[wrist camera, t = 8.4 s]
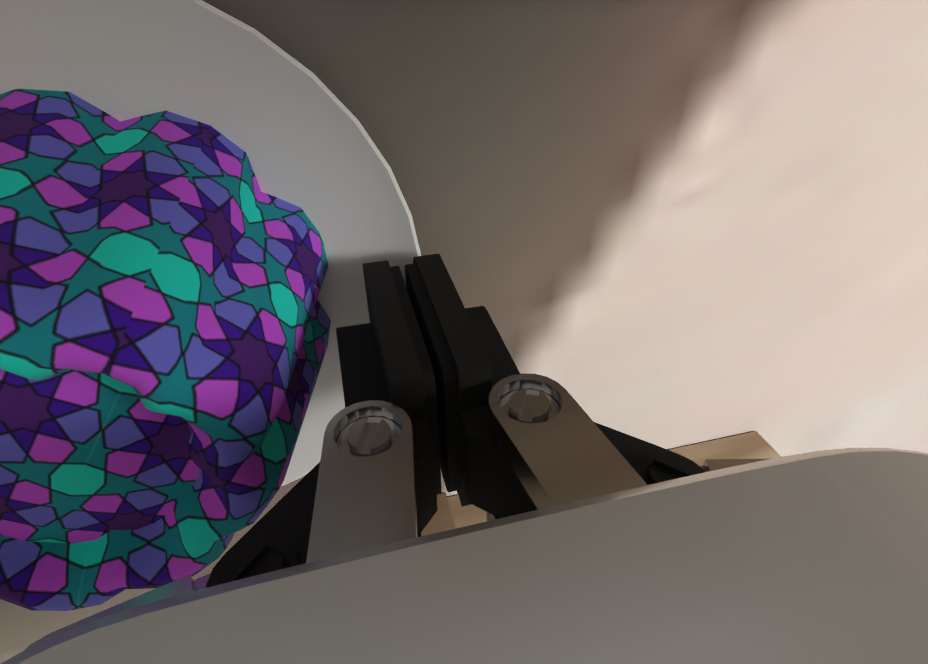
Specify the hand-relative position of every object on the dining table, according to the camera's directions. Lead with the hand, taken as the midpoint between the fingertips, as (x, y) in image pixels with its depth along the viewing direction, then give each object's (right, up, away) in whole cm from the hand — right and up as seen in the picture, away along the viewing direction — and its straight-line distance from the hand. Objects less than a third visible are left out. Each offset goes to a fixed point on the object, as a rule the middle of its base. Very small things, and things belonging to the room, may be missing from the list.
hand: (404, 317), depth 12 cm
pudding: (-6, 0, -1) cm, 6 cm away
